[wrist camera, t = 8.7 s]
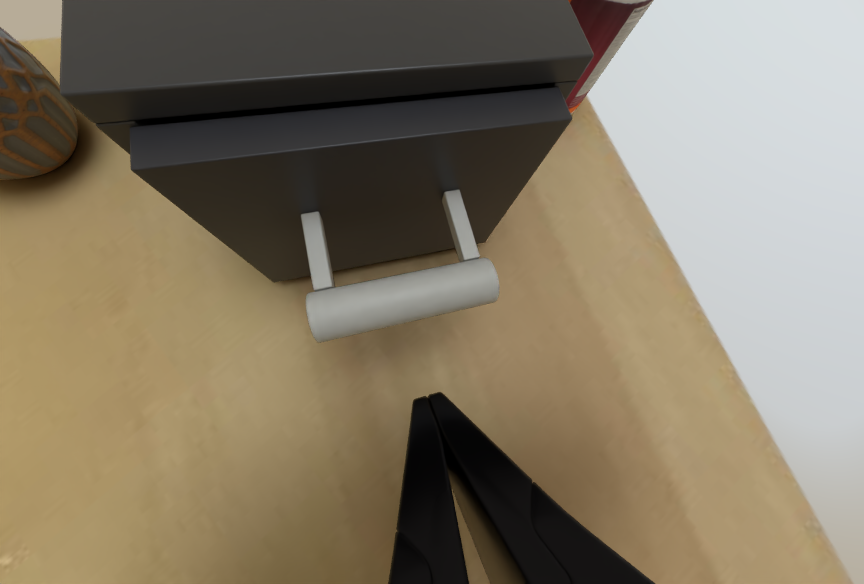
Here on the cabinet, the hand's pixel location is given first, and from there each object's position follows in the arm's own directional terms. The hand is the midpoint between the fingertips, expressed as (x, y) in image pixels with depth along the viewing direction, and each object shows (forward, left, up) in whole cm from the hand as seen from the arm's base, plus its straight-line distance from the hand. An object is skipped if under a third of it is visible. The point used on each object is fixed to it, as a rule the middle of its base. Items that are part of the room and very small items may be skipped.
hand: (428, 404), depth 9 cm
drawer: (+11, +1, -6) cm, 13 cm away
